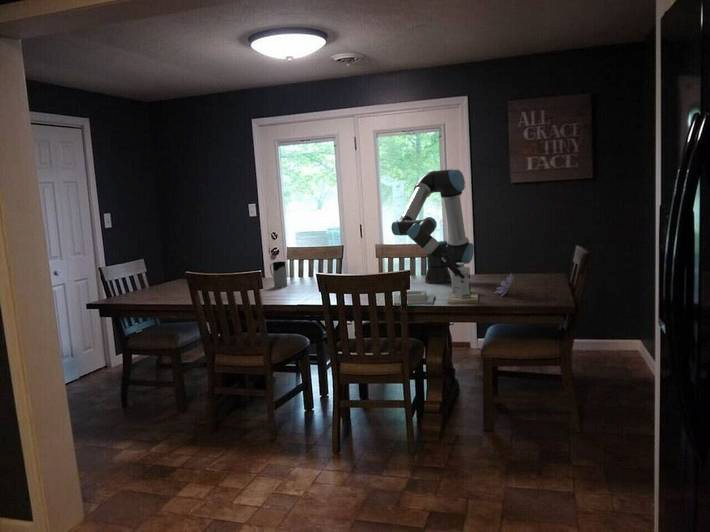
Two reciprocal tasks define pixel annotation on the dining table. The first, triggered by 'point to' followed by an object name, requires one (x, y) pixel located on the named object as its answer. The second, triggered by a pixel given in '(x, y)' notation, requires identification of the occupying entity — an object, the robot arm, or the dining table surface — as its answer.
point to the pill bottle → (453, 277)
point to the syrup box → (462, 284)
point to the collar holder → (416, 298)
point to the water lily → (505, 286)
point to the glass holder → (279, 274)
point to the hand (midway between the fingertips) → (469, 280)
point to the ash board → (455, 300)
